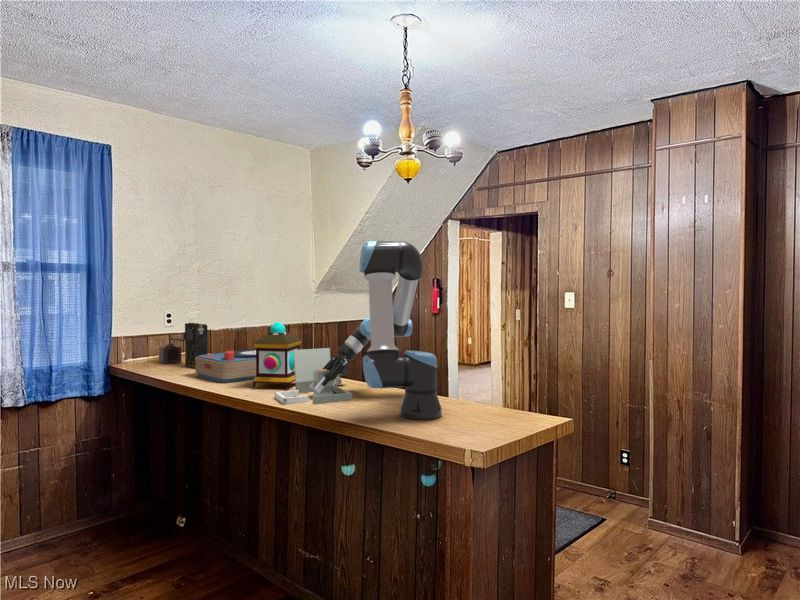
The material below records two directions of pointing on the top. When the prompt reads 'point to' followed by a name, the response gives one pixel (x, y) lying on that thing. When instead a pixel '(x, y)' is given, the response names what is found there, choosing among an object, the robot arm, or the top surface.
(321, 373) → the block
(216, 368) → the record player
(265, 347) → the decorative lantern
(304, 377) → the case
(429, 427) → the top surface
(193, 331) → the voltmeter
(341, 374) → the pneumatic valve
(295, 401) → the dock
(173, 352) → the dark handled box
